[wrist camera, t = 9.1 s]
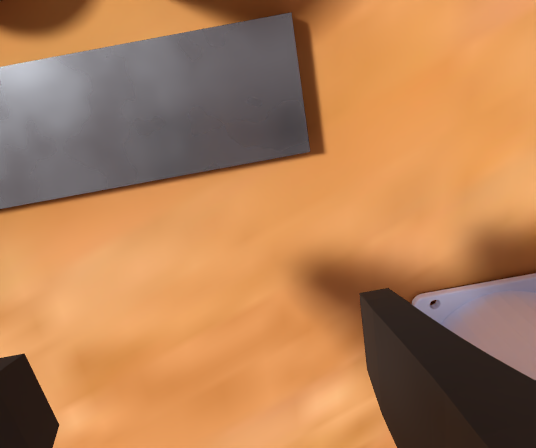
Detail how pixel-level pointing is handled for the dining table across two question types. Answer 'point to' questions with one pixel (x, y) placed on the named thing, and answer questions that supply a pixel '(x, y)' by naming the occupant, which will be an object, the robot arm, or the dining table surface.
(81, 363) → the dining table surface
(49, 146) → the carrier plate
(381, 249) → the dining table surface
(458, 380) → the robot arm
